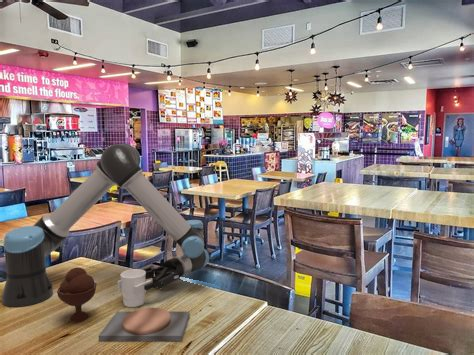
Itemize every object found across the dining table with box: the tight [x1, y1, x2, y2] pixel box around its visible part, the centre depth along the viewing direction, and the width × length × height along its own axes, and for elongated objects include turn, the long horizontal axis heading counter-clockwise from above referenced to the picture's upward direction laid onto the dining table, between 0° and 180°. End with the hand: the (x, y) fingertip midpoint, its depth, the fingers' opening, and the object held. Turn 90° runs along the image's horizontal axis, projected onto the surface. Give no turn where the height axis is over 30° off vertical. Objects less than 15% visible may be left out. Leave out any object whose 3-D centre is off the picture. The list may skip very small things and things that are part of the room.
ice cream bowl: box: [56, 266, 98, 323], centre depth 111 cm, size 11×11×15 cm
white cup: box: [120, 268, 147, 308], centre depth 121 cm, size 8×8×10 cm
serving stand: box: [98, 306, 191, 342], centre depth 105 cm, size 22×14×3 cm, turn 89°
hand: (126, 288), depth 119 cm, fingers closed on white cup, 7 cm apart
